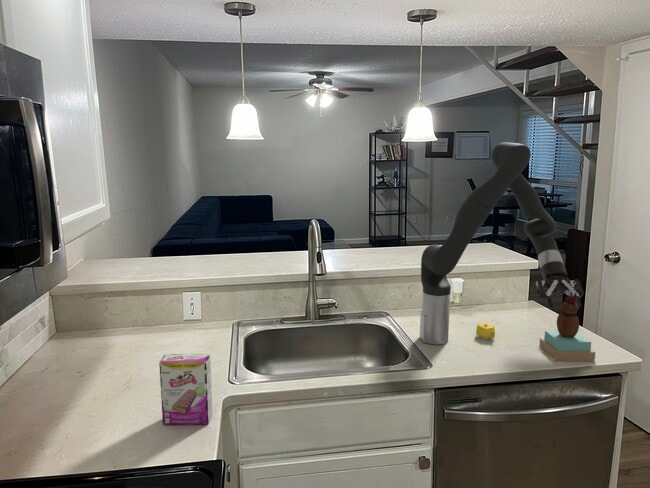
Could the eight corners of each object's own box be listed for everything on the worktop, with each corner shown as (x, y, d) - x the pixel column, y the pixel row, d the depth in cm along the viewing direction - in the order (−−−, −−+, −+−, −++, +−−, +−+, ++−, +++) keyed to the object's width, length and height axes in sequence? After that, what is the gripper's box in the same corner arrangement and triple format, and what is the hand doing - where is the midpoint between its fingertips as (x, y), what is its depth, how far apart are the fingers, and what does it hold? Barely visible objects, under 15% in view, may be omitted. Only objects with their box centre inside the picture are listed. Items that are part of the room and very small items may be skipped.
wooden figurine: (581, 339, 154) (585, 294, 151) (562, 339, 154) (566, 294, 151) (570, 332, 160) (575, 288, 157) (553, 332, 160) (557, 288, 158)
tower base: (556, 361, 152) (557, 343, 151) (539, 346, 164) (540, 329, 163) (594, 361, 152) (596, 343, 151) (574, 346, 164) (576, 329, 163)
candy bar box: (162, 426, 116) (157, 361, 113) (168, 415, 121) (164, 353, 118) (209, 425, 116) (206, 361, 113) (213, 414, 121) (210, 352, 118)
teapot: (501, 340, 169) (502, 326, 168) (488, 343, 167) (489, 328, 166) (485, 332, 176) (486, 319, 175) (472, 335, 174) (473, 321, 173)
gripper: (535, 260, 164) (547, 303, 155) (577, 260, 164) (592, 302, 155) (527, 271, 171) (539, 313, 161) (568, 271, 171) (582, 313, 161)
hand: (565, 308), depth 158 cm, fingers open, 8 cm apart
